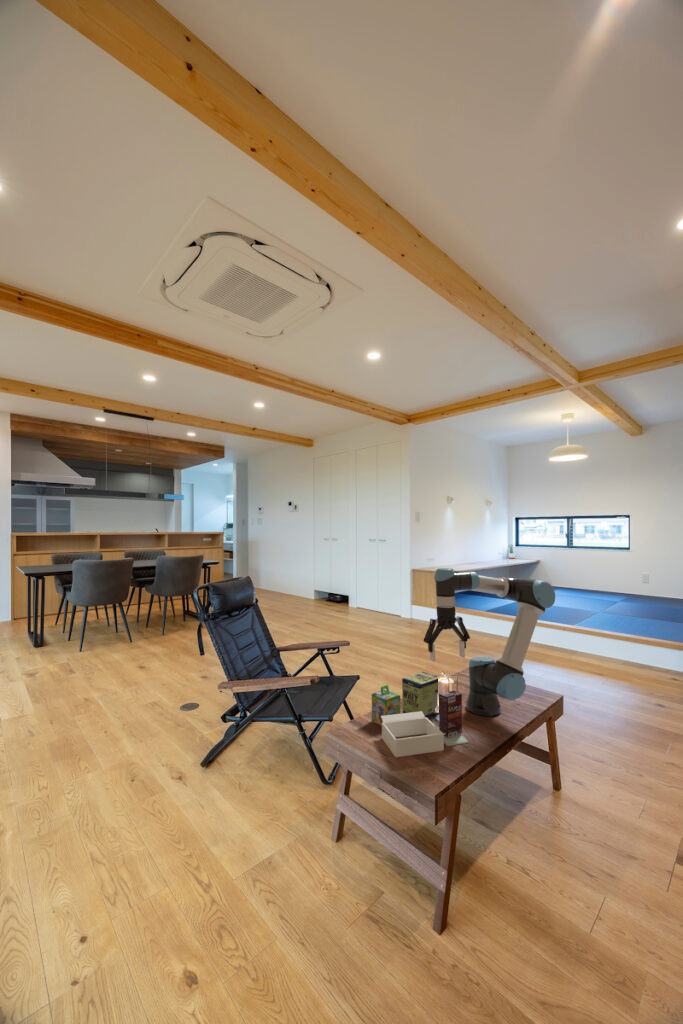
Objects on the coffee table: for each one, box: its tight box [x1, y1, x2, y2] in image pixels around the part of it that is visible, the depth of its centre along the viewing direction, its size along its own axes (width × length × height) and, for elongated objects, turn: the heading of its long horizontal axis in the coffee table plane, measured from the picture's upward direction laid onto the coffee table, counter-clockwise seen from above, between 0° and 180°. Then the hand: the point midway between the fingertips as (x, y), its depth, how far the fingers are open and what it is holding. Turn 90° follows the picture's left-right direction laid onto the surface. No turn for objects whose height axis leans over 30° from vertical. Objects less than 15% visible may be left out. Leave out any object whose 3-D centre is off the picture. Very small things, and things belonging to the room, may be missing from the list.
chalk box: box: [371, 684, 401, 727], centre depth 172 cm, size 9×9×15 cm
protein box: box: [401, 671, 438, 719], centre depth 182 cm, size 10×16×16 cm
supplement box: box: [438, 690, 463, 739], centre depth 160 cm, size 9×5×16 cm, turn 122°
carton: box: [381, 711, 446, 758], centre depth 154 cm, size 19×20×7 cm
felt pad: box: [437, 727, 469, 747], centre depth 160 cm, size 9×13×1 cm
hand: (447, 658), depth 164 cm, fingers open, 13 cm apart
